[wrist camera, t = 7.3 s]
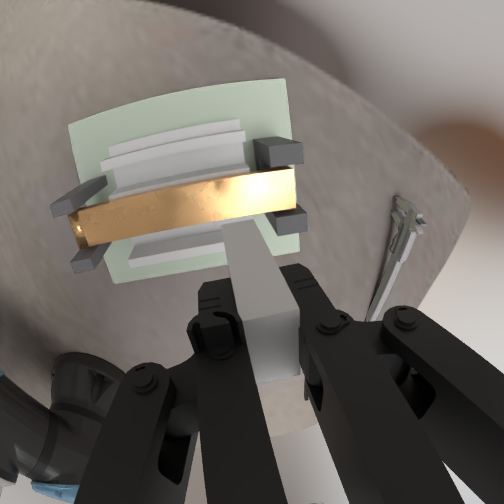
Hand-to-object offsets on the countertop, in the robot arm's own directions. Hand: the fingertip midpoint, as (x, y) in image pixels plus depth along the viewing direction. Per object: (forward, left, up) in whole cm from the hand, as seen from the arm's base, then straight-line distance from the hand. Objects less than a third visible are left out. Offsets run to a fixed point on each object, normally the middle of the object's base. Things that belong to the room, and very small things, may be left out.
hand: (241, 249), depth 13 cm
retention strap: (-4, 0, -11) cm, 12 cm away
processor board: (-4, 0, -16) cm, 16 cm away
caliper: (+19, -15, -16) cm, 29 cm away
